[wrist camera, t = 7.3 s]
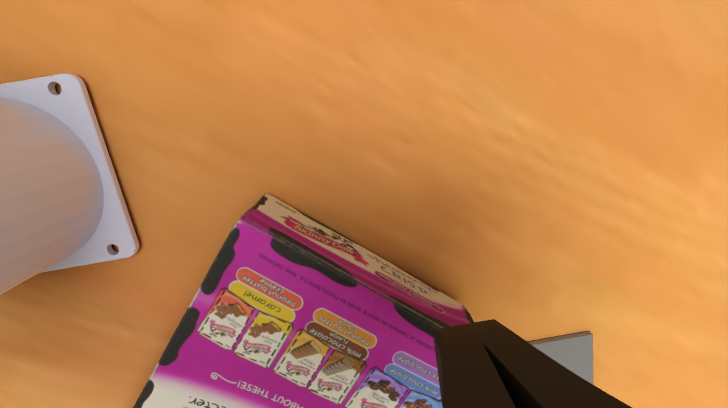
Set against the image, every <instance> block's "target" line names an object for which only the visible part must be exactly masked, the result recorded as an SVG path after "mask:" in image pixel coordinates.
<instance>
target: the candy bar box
mask: <svg viewBox="0 0 728 408" xmlns="http://www.w3.org/2000/svg"><path fill="white" fill-rule="evenodd" d="M469 323H474V321H473V319H472V317H471V315H470V314H469V312H468V311H467V309H466V308H465V307H464V306H463V305H462V304H460V303H459V302H457V301H456V300H454V299H452V298H450V297H449V296H447V295H445V294H443V293H442V292H440V291H438V290H436V289H435V288H433V287H431V286H429V285H428V284H426V283H424V282H423V281H421V280H419V279H417V278H416V277H414V276H412V275H410V274H409V273H407V272H405V271H403V270H402V269H400V268H398V267H396V266H394V265H393V264H391V263H389V262H388V261H386V260H384V259H382V258H381V257H379V256H377V255H376V254H374V253H372V252H370V251H369V250H367V249H365V248H363V247H361V246H360V245H358V244H356V243H354V242H352V241H351V240H349V239H348V238H346V237H344V236H342V235H341V234H339V233H337V232H335V231H333V230H332V229H330V228H328V227H326V226H325V225H323V224H321V223H319V222H317V221H315V220H314V219H312V218H310V217H308V216H307V215H305V214H303V213H301V212H299V211H298V210H296V209H294V208H293V207H291V206H289V205H287V204H286V203H284V202H282V201H280V200H279V199H277V198H275V197H273V196H271V195H270V194H265V195H264V196H262V198H261V199H260V200H259V201H258V203H257V204H256V205H255V206H253V207H252V208H251V209H249V210H248V211H247V212H246V213H245V214H244V215H243V216H242V217H241V218H240V219H239V220H238V221H237V223H236V224H235V226H234V227H233V229H232V231H231V233H230V234H229V236H228V238H227V239H226V241H225V243H224V244H223V246H222V248H221V250H220V251H219V253H218V255H217V257H216V259H215V260H214V262H213V264H212V266H211V268H210V270H209V271H208V273H207V275H206V277H205V279H204V281H203V283H202V284H201V286H200V288H199V290H198V291H197V293H196V295H195V296H194V298H193V300H192V302H191V304H190V306H189V307H188V309H187V311H186V313H185V315H184V316H183V318H182V320H181V322H180V324H179V326H178V327H177V329H176V331H175V332H174V334H173V336H172V338H171V340H170V341H169V343H168V345H167V347H166V349H165V351H164V353H163V355H162V357H161V359H160V360H159V362H158V364H157V365H156V367H155V369H154V371H153V373H152V374H151V376H150V378H149V380H148V382H147V384H146V386H145V387H144V389H143V391H142V393H141V395H140V396H139V398H138V400H137V402H136V404H135V406H134V407H133V408H443V407H442V402H441V394H440V386H439V377H438V369H437V361H436V353H435V345H434V337H433V334H434V333H435V332H436V330H437V329H440V328H446V327H451V326H457V325H463V324H469Z"/></svg>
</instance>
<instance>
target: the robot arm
mask: <svg viewBox="0 0 728 408" xmlns="http://www.w3.org/2000/svg"><path fill="white" fill-rule="evenodd" d="M56 83H58V84H60V86H61V89H62V91H61V93H60V94H58V93H57V92H56V91H55V85H56ZM112 244H114V245H116V246H117V247H118V248H119V252H116V251H114V250H113V248H112ZM138 250H139V242H138V239H137V236H136V233H135V230H134V227H133V224H132V221H131V218H130V215H129V212H128V210H127V207H126V204H125V201H124V198H123V195H122V192H121V189H120V186H119V183H118V180H117V177H116V174H115V171H114V168H113V165H112V162H111V159H110V157H109V154H108V151H107V148H106V145H105V142H104V139H103V136H102V133H101V130H100V127H99V124H98V121H97V118H96V115H95V112H94V109H93V106H92V104H91V101H90V98H89V95H88V92H87V89H86V86H85V84H84V82H83V80H82V79H81V78H80V77H79V76H77V75H74V74H65V73H63V74H57V75H51V76H45V77H39V78H33V79H27V80H21V81H15V82H10V83H4V84H0V295H1V294H3V293H5V292H6V291H8V290H10V289H12V288H13V287H15V286H17V285H19V284H20V283H22V282H24V281H26V280H27V279H29V278H31V277H33V276H34V275H36V274H38V273H42V272H48V271H54V270H60V269H65V268H71V267H77V266H83V265H88V264H94V263H100V262H106V261H112V260H117V259H123V258H128V257H131V256H133V255H134V254H136V253H137V251H138ZM433 337H434V345H435V353H436V361H437V369H438V377H439V386H440V394H441V402H442V407H443V408H632V407H630V406H628V405H626V404H625V403H623V402H621V401H620V400H618V399H616V398H614V397H613V396H611V395H609V394H607V393H606V392H604V391H602V390H601V389H599V388H597V387H596V386H594V385H593V384H591V383H589V382H588V381H586V380H584V379H583V378H581V377H580V376H578V375H576V374H575V373H573V372H572V371H570V370H569V369H567V368H566V367H564V366H562V365H561V364H559V363H558V362H556V361H555V360H553V359H552V358H550V357H549V356H547V355H546V354H544V353H543V352H541V351H540V350H538V349H537V348H535V347H534V346H532V345H531V344H530V343H528V342H527V341H525V340H524V339H522V338H521V337H519V336H518V335H516V334H515V333H514V332H512V331H511V330H509V329H508V328H506V327H505V326H503V325H502V324H500V323H499V322H497V321H496V320H494V319H493V320H487V321H481V322H475V323H469V324H463V325H457V326H451V327H446V328H440V329H437V330H436V332H435V333H434V334H433Z"/></svg>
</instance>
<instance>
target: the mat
mask: <svg viewBox="0 0 728 408" xmlns="http://www.w3.org/2000/svg"><path fill="white" fill-rule="evenodd" d="M528 343H530V344H531V345H532V346H534V347H535V348H537V349H538V350H540V351H541V352H543V353H544V354H546V355H547V356H549V357H550V358H552V359H553V360H555V361H556V362H558V363H559V364H561V365H562V366H564V367H566V368H567V369H569V370H570V371H572V372H573V373H575V374H576V375H578V376H580V377H581V378H583V379H584V380H586V381H588V382H589V383H591V384H593V334H592V333H591V332H590V331H587V332H581V333H575V334H570V335H564V336H558V337H553V338H547V339H541V340H536V341H530V342H528Z"/></svg>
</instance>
